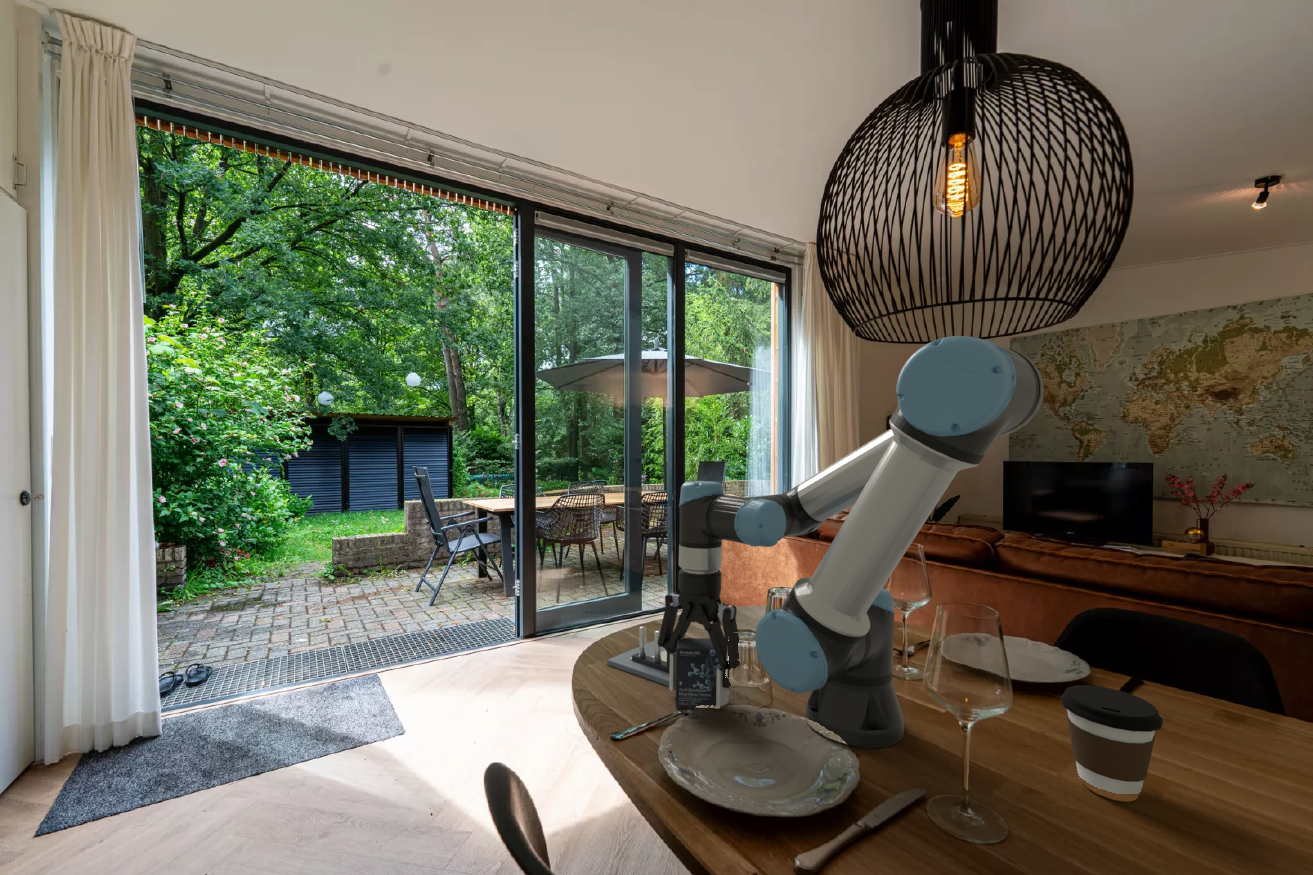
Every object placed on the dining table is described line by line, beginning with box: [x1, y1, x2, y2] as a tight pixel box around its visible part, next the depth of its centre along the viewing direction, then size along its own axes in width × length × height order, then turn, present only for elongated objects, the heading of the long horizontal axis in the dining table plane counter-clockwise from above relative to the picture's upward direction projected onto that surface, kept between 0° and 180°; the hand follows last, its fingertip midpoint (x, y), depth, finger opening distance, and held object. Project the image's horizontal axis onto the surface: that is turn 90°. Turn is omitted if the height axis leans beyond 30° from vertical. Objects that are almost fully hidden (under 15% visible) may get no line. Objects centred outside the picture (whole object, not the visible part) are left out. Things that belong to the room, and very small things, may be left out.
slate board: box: [606, 639, 669, 687], centre depth 122 cm, size 20×20×1 cm
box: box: [675, 637, 721, 709], centre depth 104 cm, size 8×6×11 cm
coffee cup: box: [1060, 684, 1164, 794], centre depth 79 cm, size 11×11×12 cm
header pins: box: [632, 625, 670, 673], centre depth 117 cm, size 12×2×7 cm, turn 51°
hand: (698, 696), depth 104 cm, fingers closed on box, 9 cm apart
